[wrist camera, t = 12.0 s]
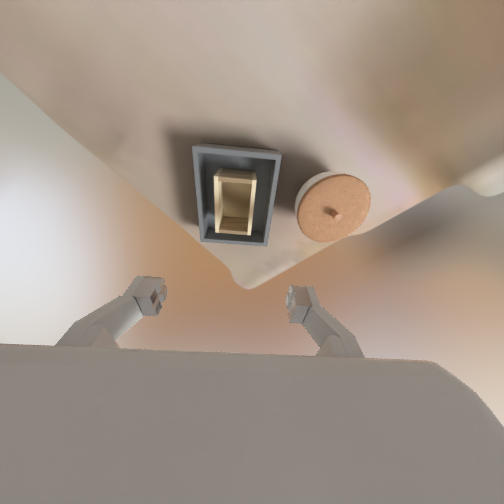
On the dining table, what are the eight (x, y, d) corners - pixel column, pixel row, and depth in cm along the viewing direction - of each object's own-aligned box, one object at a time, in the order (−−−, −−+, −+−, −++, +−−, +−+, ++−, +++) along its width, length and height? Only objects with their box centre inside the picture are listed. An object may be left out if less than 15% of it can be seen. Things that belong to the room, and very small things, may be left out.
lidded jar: (277, 192, 33) (285, 213, 25) (331, 149, 29) (360, 159, 21) (307, 231, 38) (321, 258, 30) (357, 199, 34) (388, 221, 26)
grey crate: (200, 142, 28) (191, 145, 24) (277, 150, 29) (281, 154, 25) (206, 228, 37) (200, 241, 33) (265, 233, 38) (266, 246, 34)
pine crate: (220, 167, 30) (213, 176, 25) (255, 171, 30) (256, 180, 25) (220, 217, 35) (215, 232, 30) (250, 219, 35) (250, 235, 31)
